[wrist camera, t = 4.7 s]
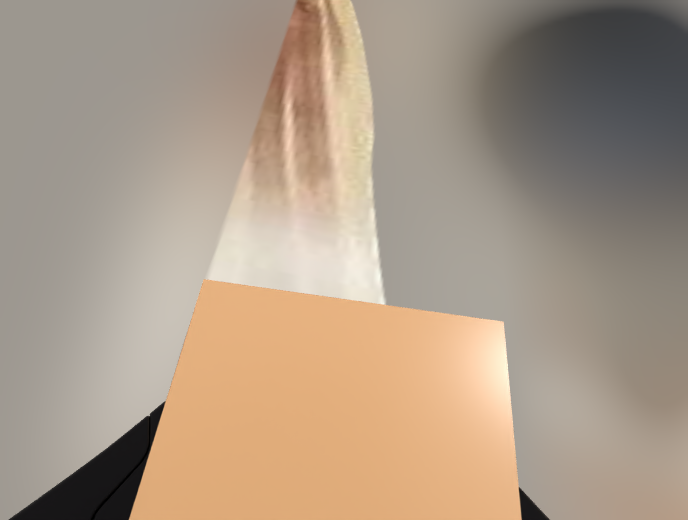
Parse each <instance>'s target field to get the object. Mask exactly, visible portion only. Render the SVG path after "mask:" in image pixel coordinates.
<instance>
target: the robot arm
mask: <svg viewBox="0 0 688 520" xmlns="http://www.w3.org/2000/svg"><path fill="white" fill-rule="evenodd" d="M165 402H166V401H165ZM165 402H163V403H162V404H161V405H160V406H159V407H157V408H156V409H155V410H154V411H153V412H151V413H150V416H146V417H145V418H144V419H143V420H141V421H140V422H139V423H138V424H137V425H135V426H134V427H133V428H132V429H131V430H129V431H128V432H127V433H125V434H124V435H123V436H122V437H121V438H119V439H118V440H117V441H115V442H114V443H113V444H112V445H110V446H109V447H108V448H107V449H105V450H104V451H103V452H101V453H100V454H99V455H97V456H96V457H95V458H93V459H92V460H91V461H89V462H88V463H87V464H85V465H84V466H83V467H81V468H80V469H78V470H77V471H76V472H74V473H73V474H72V475H70V476H69V477H67V478H66V479H65V480H63V481H62V482H60V483H59V484H58V485H56V486H55V487H54V488H52V489H51V490H50V491H48V492H47V493H45V494H44V495H42V496H41V497H40V498H38V499H37V500H35V501H34V502H33V503H31V504H30V505H28V506H27V507H26V508H24V509H23V510H21V511H20V512H19V513H17V514H16V515H14V516H13V517H12V518H10V519H9V520H129V518H130V515H131V512H132V509H133V505H134V502H135V499H136V496H137V492H138V489H139V486H140V483H141V480H142V476H143V473H144V470H145V467H146V464H147V460H148V457H149V454H150V451H151V447H152V444H153V441H154V438H155V435H156V431H157V428H158V425H159V422H160V418H161V415H162V412H163V409H164V406H165ZM519 497H520V508H521V519H522V520H550V519H549V518H548V517H547V516H546V515H545V514H544V513H543V512H542V511H541V510H540V509H539V508H538V507H537V506H536V505H535V504H534V503H533V501H532V500H531V499H530V498H529V497H528V496H527V495H526V494H525V493H524V492H523V491H522V490H521V489H520V488H519Z"/></svg>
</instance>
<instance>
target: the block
mask: <svg viewBox="0 0 688 520" xmlns="http://www.w3.org/2000/svg"><path fill="white" fill-rule="evenodd" d="M512 421H513V420H512V409H511V399H510V389H509V377H508V366H507V355H506V344H505V333H504V322H501V321H494V320H487V319H480V318H473V317H466V316H459V315H452V314H445V313H437V312H431V311H424V310H417V309H409V308H403V307H395V306H389V305H382V304H374V303H367V302H360V301H353V300H346V299H339V298H332V297H325V296H318V295H311V294H304V293H297V292H290V291H283V290H276V289H269V288H262V287H254V286H247V285H240V284H233V283H226V282H219V281H212V280H205V279H204V280H203V283H202V287H201V290H200V293H199V296H198V300H197V303H196V306H195V309H194V312H193V316H192V319H191V322H190V325H189V328H188V332H187V335H186V338H185V341H184V345H183V348H182V351H181V354H180V357H179V361H178V364H177V367H176V370H175V373H174V377H173V380H172V383H171V386H170V390H169V393H168V396H167V399H166V402H165V406H164V409H163V412H162V415H161V418H160V422H159V425H158V428H157V431H156V435H155V438H154V441H153V444H152V447H151V451H150V454H149V457H148V460H147V464H146V467H145V470H144V473H143V476H142V480H141V483H140V486H139V489H138V492H137V496H136V499H135V502H134V505H133V509H132V512H131V515H130V518H129V520H522V519H521V508H520V497H519V486H518V476H517V464H516V453H515V444H514V432H513V422H512Z"/></svg>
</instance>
